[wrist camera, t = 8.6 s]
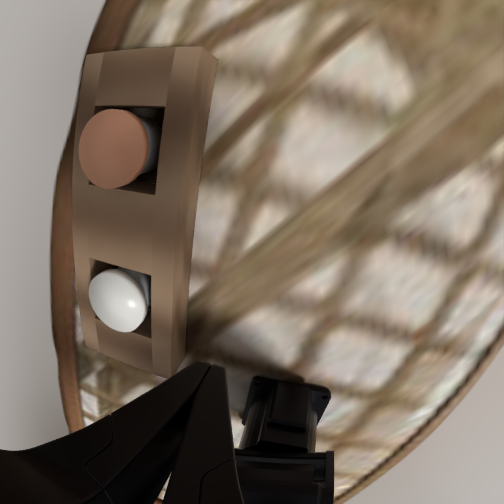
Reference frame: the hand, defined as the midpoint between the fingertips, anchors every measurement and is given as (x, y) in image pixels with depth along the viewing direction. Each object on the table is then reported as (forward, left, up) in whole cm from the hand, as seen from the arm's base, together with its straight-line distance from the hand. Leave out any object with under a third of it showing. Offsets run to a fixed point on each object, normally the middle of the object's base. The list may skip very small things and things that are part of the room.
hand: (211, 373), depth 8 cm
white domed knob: (-5, +9, -12) cm, 16 cm away
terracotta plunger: (+5, +9, -11) cm, 15 cm away
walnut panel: (0, +9, -12) cm, 15 cm away
